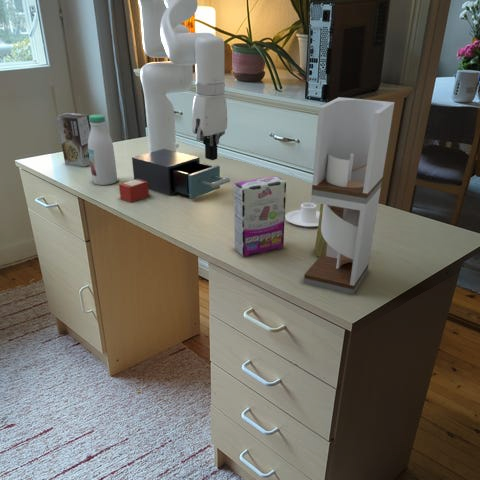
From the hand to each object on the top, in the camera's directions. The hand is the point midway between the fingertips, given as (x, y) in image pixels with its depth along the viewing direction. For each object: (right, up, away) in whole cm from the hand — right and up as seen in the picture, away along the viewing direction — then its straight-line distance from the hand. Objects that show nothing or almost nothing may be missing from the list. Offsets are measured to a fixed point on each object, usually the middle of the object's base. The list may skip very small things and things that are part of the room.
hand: (211, 158), depth 147 cm
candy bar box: (+13, -29, -24) cm, 40 cm away
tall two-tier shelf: (+29, -37, -35) cm, 59 cm away
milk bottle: (-35, -2, +18) cm, 39 cm away
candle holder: (+26, -19, -8) cm, 33 cm away
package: (-23, -10, +6) cm, 26 cm away
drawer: (-5, -7, +9) cm, 12 cm away
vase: (+29, -30, -26) cm, 49 cm away
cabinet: (-15, -3, +16) cm, 22 cm away
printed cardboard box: (-48, +9, +35) cm, 60 cm away
